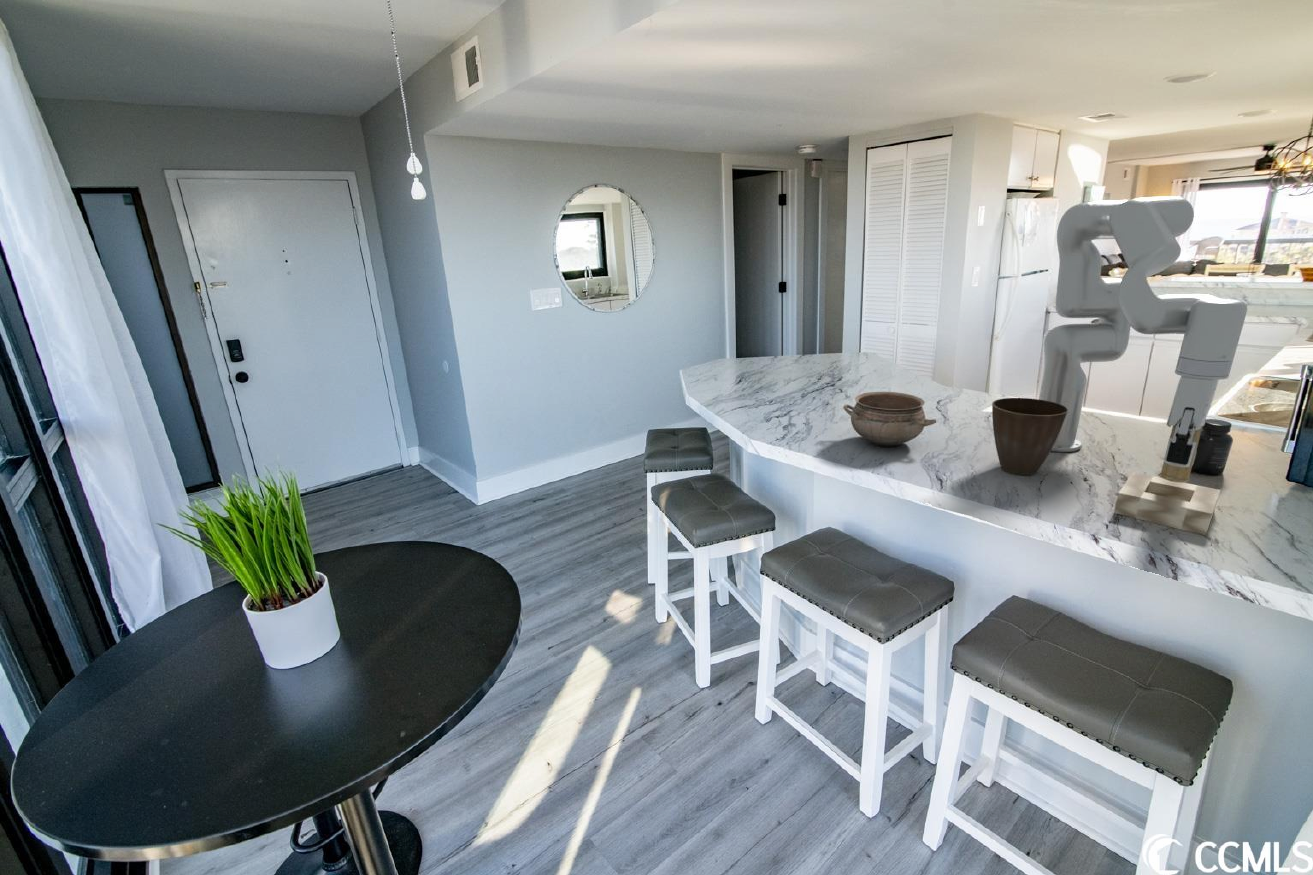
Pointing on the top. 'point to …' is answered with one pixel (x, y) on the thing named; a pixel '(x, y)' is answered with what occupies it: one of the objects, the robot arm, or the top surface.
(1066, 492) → the top surface
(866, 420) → the cooking pot
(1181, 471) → the sprinkles bottle
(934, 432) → the top surface
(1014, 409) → the plant pot
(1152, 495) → the socket block
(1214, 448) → the supplement bottle
